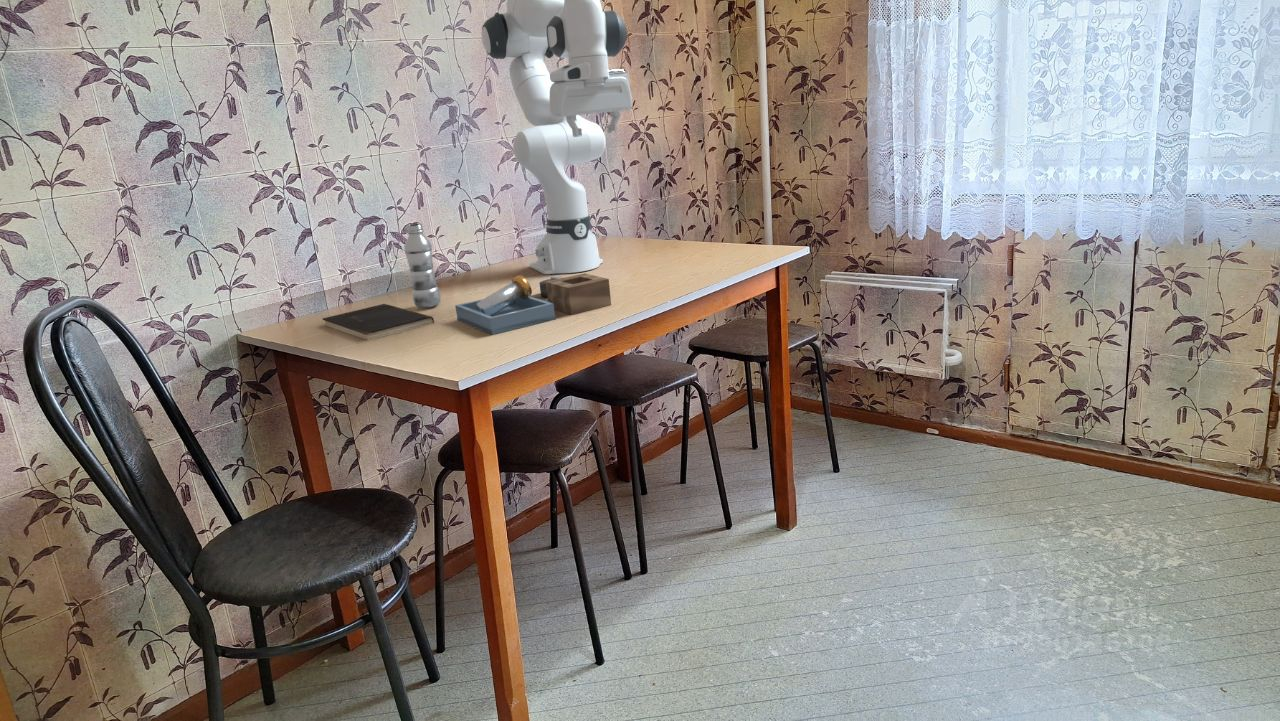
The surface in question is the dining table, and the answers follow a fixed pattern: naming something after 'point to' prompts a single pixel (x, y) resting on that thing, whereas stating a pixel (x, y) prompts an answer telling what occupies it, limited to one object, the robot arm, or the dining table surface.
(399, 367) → the dining table surface
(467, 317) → the tray
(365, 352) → the dining table surface
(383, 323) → the hardcover book
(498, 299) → the pin
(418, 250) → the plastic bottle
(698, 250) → the dining table surface
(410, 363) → the dining table surface
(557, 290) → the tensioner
